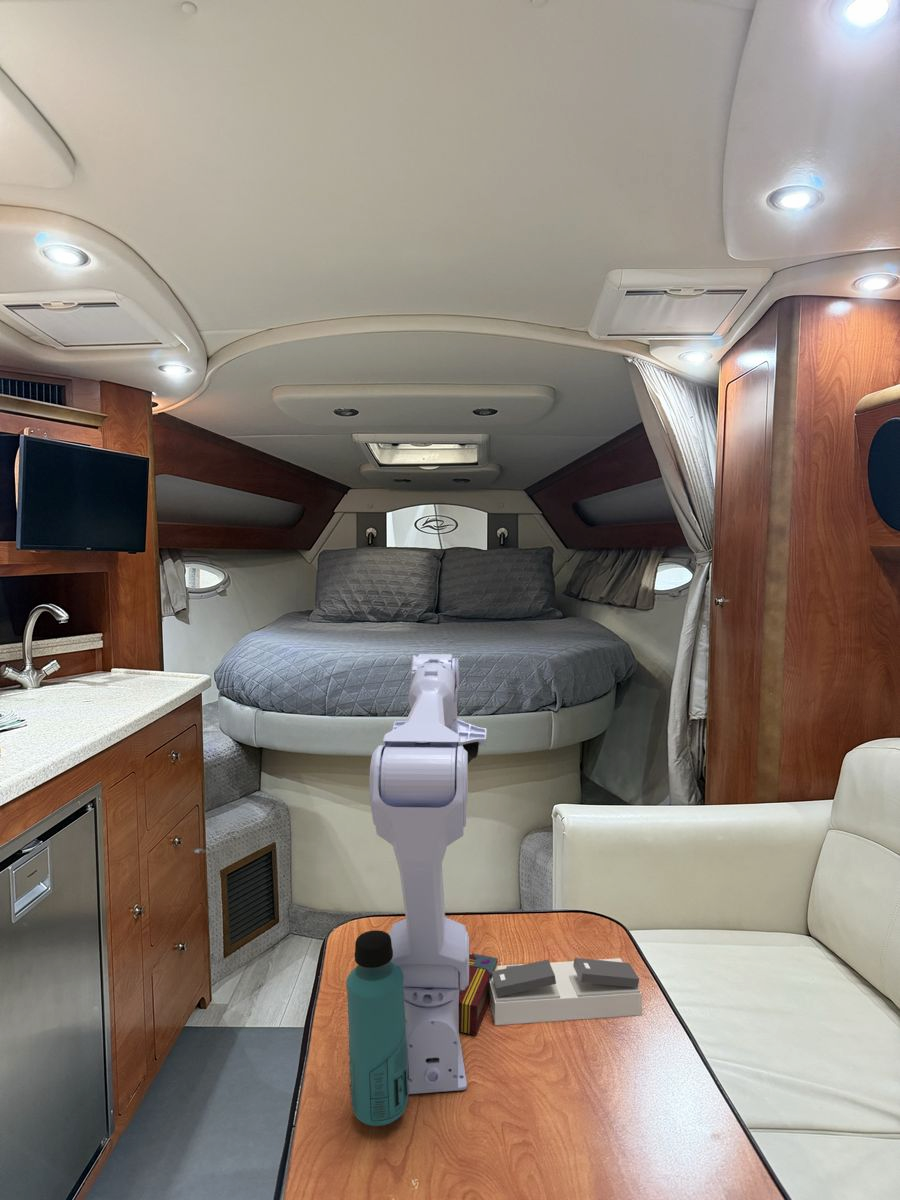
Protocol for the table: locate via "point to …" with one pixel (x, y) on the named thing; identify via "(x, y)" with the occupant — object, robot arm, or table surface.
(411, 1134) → the table surface
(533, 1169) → the table surface
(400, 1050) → the beverage bottle
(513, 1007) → the base
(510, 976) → the rocker inboard
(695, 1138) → the table surface
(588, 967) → the rocker outer
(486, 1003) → the decorative book
